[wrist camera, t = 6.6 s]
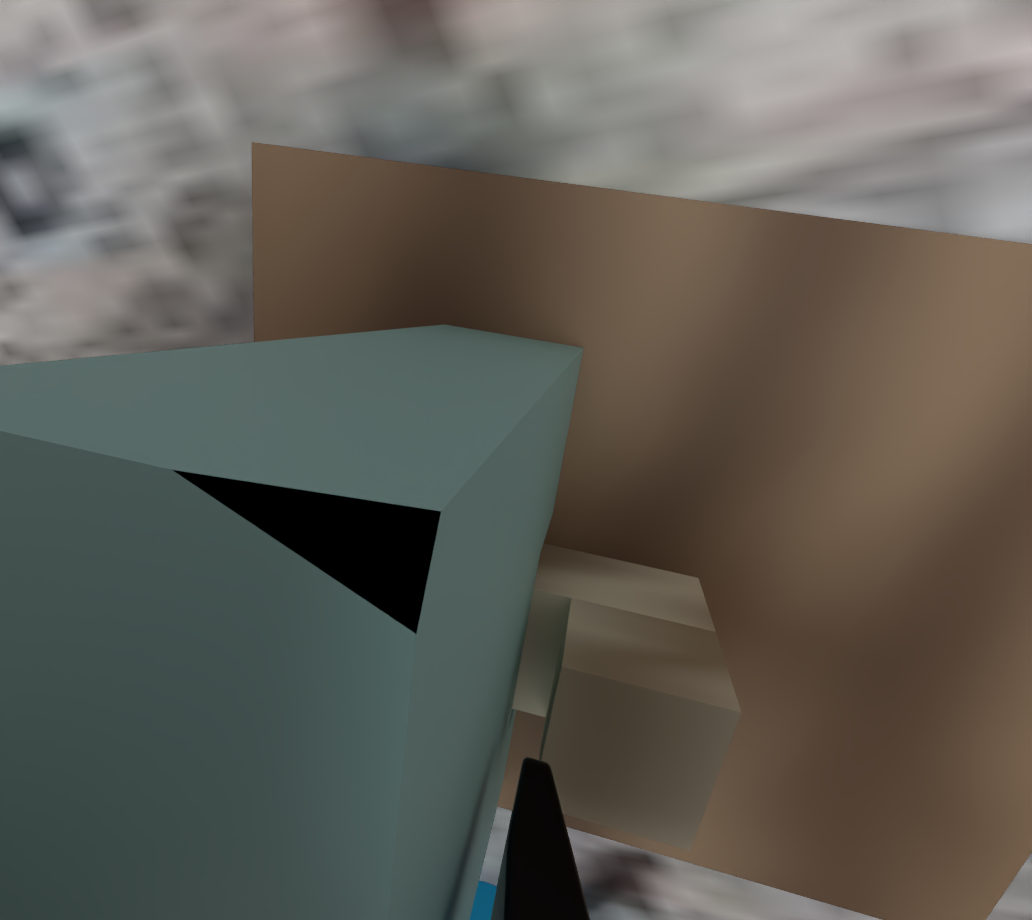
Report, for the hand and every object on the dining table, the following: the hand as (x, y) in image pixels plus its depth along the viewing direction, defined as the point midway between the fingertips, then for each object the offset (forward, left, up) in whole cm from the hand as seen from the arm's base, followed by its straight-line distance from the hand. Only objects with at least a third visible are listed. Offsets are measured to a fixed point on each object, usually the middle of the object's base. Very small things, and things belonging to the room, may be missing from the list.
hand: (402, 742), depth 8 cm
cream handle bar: (0, 0, -5) cm, 5 cm away
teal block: (0, 0, -5) cm, 5 cm away
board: (-4, -1, -6) cm, 7 cm away
